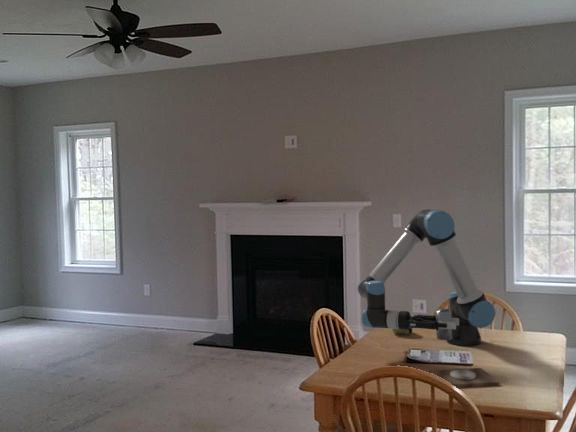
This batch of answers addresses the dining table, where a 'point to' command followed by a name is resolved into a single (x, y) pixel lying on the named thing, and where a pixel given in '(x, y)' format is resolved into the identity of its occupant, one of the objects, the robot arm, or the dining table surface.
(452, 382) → the brown flat slab
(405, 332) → the olive green rounded lump
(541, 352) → the dining table surface
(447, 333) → the grey metallic can
